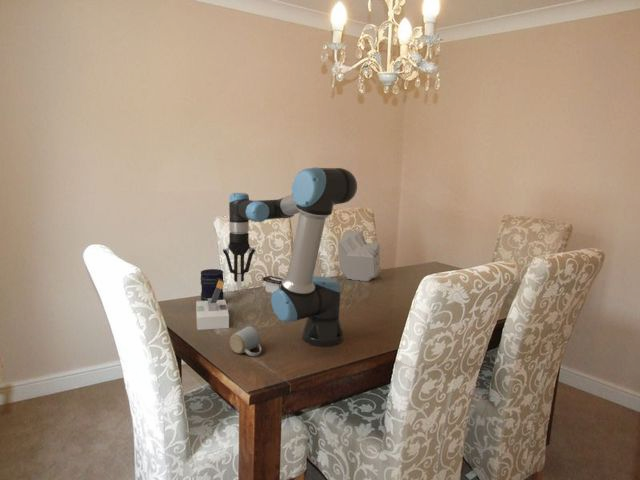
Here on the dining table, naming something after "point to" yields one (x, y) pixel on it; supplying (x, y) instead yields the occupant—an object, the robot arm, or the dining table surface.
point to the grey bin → (272, 283)
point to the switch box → (212, 315)
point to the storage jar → (210, 283)
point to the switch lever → (217, 291)
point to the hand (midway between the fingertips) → (238, 289)
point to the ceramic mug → (245, 341)
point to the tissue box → (358, 257)
